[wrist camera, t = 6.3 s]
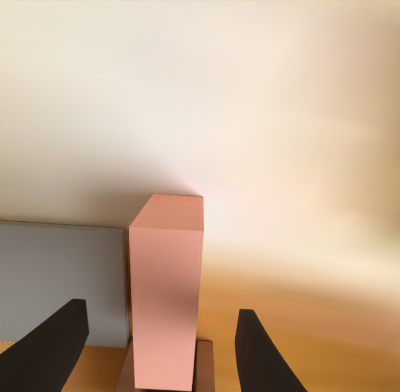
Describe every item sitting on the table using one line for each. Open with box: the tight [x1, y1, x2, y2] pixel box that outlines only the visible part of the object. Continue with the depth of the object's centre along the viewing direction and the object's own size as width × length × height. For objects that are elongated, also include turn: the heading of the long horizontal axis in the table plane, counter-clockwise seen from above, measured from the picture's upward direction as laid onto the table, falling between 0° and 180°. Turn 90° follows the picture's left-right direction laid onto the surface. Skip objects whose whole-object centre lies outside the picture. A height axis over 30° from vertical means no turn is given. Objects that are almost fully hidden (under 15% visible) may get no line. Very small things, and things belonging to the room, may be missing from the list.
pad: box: [0, 220, 129, 348], centre depth 16 cm, size 10×10×1 cm
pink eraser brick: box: [129, 194, 204, 391], centre depth 13 cm, size 10×3×5 cm, turn 176°
